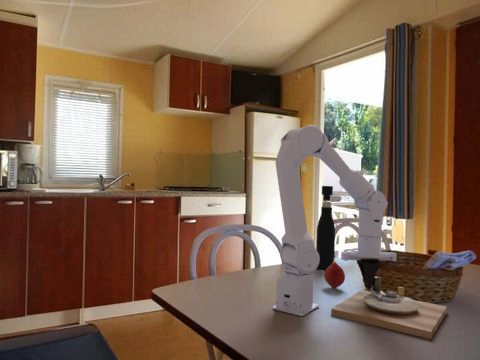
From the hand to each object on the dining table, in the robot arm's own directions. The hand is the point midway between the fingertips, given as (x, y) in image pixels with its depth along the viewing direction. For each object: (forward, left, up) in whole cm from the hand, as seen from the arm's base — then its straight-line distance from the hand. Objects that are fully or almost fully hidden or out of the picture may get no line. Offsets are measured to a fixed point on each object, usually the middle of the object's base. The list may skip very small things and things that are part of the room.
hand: (367, 288), depth 100 cm
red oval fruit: (+6, +12, -4) cm, 14 cm away
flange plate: (-4, -6, -2) cm, 7 cm away
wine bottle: (+29, +25, -4) cm, 39 cm away
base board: (-6, -7, -4) cm, 10 cm away
